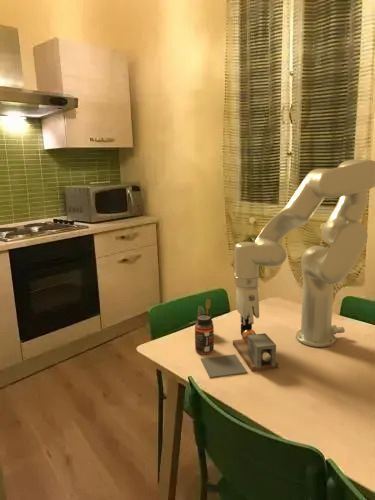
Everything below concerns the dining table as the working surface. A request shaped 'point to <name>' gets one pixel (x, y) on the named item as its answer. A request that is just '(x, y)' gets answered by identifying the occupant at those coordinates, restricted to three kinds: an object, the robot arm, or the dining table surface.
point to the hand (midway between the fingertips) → (246, 335)
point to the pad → (223, 366)
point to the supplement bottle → (204, 335)
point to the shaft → (264, 353)
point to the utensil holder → (204, 312)
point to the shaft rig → (257, 352)
